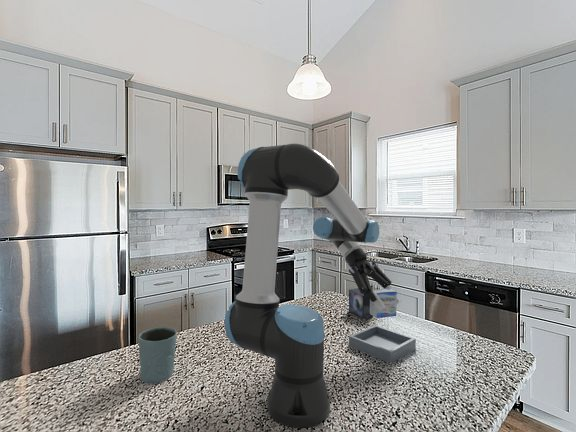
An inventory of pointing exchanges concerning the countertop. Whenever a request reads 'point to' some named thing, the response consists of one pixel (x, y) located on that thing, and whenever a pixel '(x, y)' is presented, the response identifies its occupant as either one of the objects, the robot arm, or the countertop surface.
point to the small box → (359, 304)
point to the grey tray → (382, 343)
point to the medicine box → (385, 303)
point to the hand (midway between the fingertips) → (390, 306)
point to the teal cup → (157, 354)
